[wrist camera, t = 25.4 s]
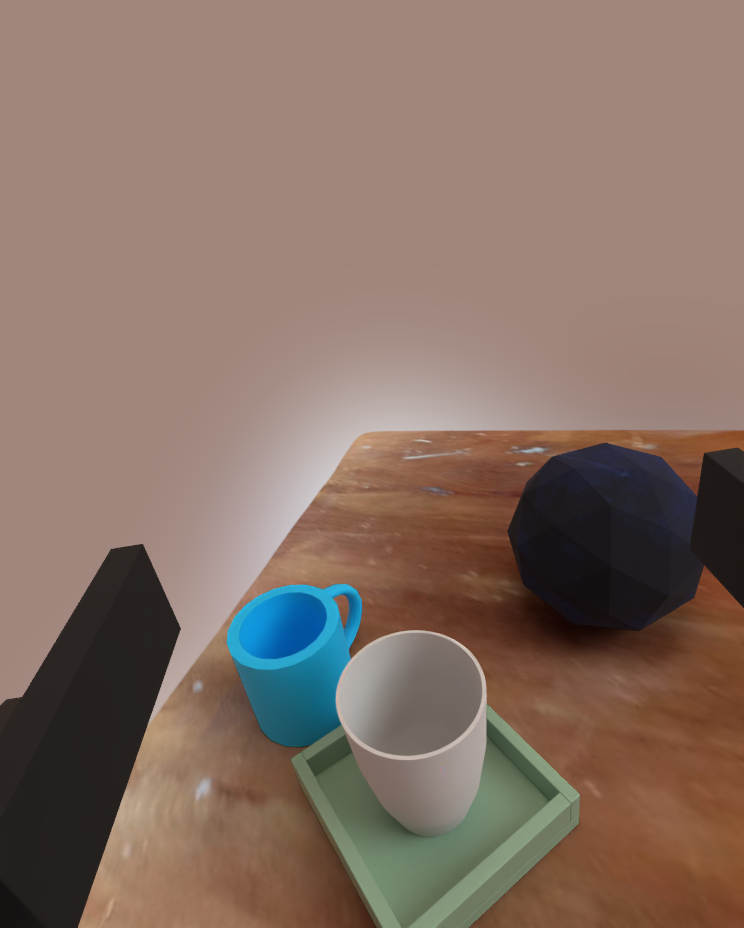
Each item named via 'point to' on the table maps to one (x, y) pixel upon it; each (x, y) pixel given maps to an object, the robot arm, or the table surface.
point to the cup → (417, 726)
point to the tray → (447, 856)
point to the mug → (294, 658)
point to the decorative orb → (607, 537)
